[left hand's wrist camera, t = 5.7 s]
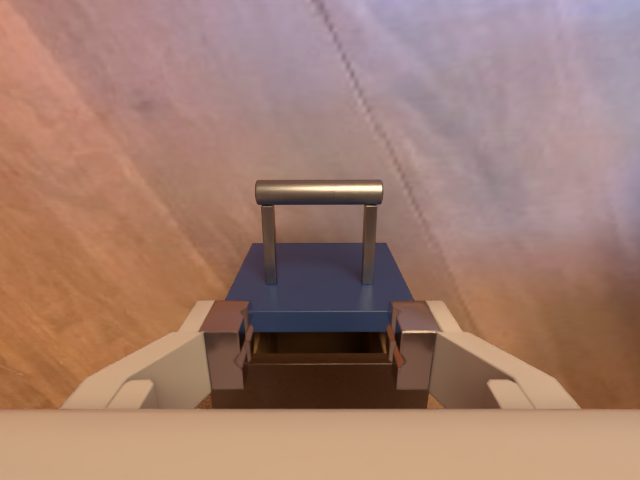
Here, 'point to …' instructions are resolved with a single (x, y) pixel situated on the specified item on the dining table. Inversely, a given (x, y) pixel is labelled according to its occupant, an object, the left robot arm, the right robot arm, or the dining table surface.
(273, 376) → the brown rectangular box
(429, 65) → the dining table surface
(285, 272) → the drawer
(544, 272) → the dining table surface
